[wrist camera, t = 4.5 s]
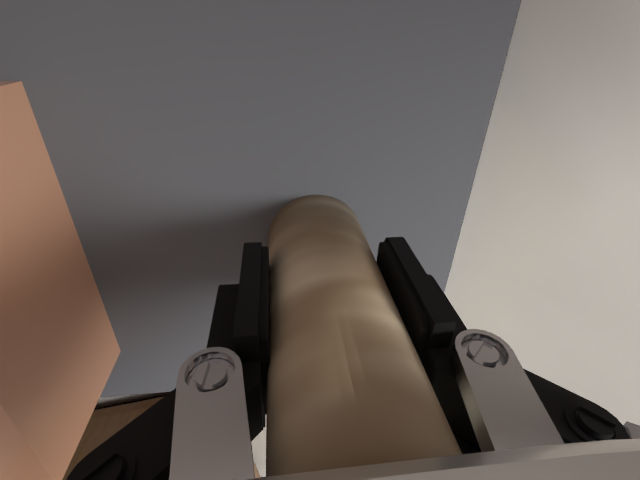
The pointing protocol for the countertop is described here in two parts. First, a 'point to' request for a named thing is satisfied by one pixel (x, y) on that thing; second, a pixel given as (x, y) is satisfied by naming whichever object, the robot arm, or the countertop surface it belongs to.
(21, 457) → the terracotta box
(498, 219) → the countertop surface
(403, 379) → the birch dowel
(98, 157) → the charcoal mat
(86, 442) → the wooden block
